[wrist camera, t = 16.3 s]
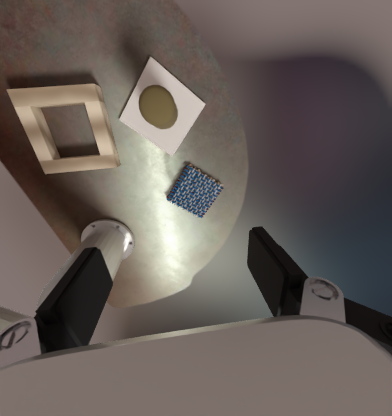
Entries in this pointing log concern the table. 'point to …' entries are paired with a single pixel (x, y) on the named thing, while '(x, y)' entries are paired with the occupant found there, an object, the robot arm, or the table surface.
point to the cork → (158, 107)
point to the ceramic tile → (183, 99)
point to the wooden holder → (40, 134)
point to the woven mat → (194, 191)
